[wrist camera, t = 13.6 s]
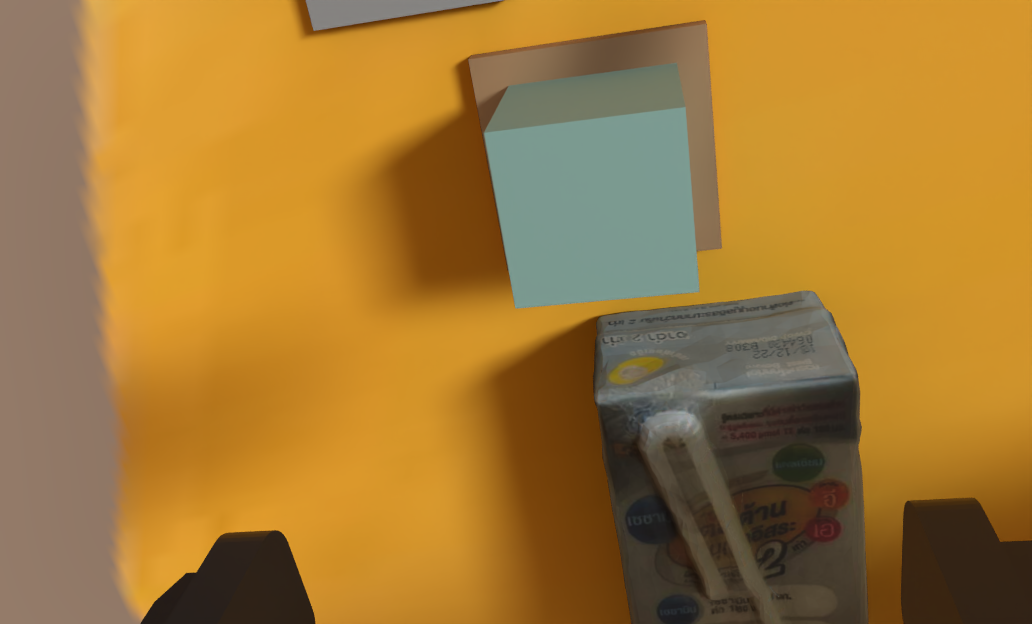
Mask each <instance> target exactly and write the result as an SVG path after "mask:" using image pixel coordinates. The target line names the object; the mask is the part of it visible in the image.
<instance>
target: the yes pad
mask: <svg viewBox="0 0 1032 624" xmlns="http://www.w3.org/2000/svg"><path fill="white" fill-rule="evenodd" d="M468 61H469V66H470V72H471V77H472V82H473V88H474V93H475V98H476V104H477V109H478V114H479V120H480V125H481V130H482V136H483V141H484V146H485V152H486V157H487V162H488V168H489V173H490V178H491V184H492V189H493V194H494V200H495V205H496V210H497V215H498V221H499V226H500V231H501V237H502V242H503V236H502V230H501V225H500V219H499V214H498V208H497V203H496V197H495V192H494V186H493V181H492V175H491V170H490V164H489V159H488V153H487V147H486V142H485V136H484V132H485V130H486V128H487V126H488V124H489V122H490V120H491V118H492V116H493V115H494V113H495V111H496V109H497V107H498V105H499V103H500V101H501V99H502V98H503V96H504V94H505V92H506V90H507V88H508V86H510V85H517V84H525V83H532V82H539V81H547V80H554V79H561V78H569V77H576V76H583V75H591V74H598V73H605V72H613V71H620V70H627V69H635V68H642V67H649V66H657V65H664V64H671V63H677V67H678V72H679V77H680V82H681V87H682V92H683V97H684V102H685V107H686V119H687V133H688V146H689V160H690V173H691V186H692V200H693V213H694V226H695V240H696V251H702V250H712V249H721V248H722V245H721V230H720V215H719V200H718V185H717V170H716V156H715V141H714V126H713V111H712V96H711V81H710V67H709V52H708V37H707V24H706V21H705V20H703V21H696V22H690V23H683V24H676V25H670V26H663V27H656V28H650V29H643V30H636V31H630V32H623V33H617V34H610V35H603V36H597V37H590V38H583V39H577V40H570V41H563V42H557V43H550V44H543V45H537V46H530V47H523V48H517V49H510V50H503V51H497V52H490V53H484V54H477V55H471V57H470V58H469V59H468ZM503 247H504V242H503ZM504 253H505V247H504ZM505 258H506V253H505ZM506 263H507V258H506ZM507 269H508V264H507ZM508 271H509V269H508Z"/></svg>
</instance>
